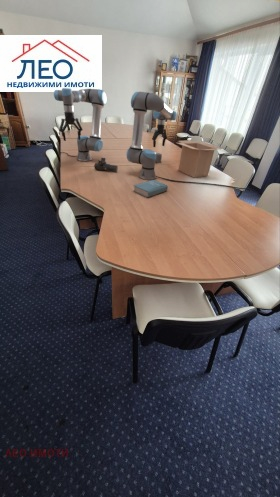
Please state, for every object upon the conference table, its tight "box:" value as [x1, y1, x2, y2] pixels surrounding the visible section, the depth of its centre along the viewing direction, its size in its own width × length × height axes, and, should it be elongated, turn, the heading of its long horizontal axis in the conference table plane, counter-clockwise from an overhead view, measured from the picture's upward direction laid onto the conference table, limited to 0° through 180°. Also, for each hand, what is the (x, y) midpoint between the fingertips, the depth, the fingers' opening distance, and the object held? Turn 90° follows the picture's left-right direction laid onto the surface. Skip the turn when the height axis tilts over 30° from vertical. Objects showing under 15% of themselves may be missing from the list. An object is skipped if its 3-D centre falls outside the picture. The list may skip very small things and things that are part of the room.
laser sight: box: [93, 157, 119, 173], centre depth 211 cm, size 10×22×10 cm, turn 78°
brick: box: [155, 152, 163, 164], centre depth 247 cm, size 5×6×9 cm
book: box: [133, 179, 169, 198], centre depth 177 cm, size 23×16×5 cm
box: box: [176, 139, 222, 179], centre depth 217 cm, size 44×36×27 cm
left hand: (72, 140), depth 192 cm, fingers open, 13 cm apart
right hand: (158, 146), depth 240 cm, fingers open, 13 cm apart
